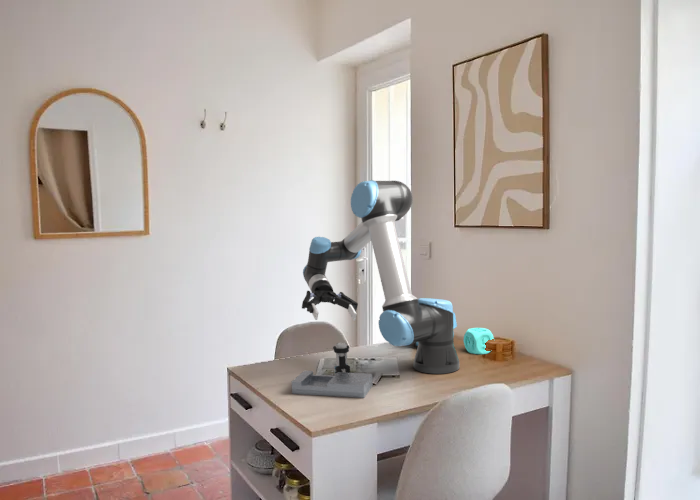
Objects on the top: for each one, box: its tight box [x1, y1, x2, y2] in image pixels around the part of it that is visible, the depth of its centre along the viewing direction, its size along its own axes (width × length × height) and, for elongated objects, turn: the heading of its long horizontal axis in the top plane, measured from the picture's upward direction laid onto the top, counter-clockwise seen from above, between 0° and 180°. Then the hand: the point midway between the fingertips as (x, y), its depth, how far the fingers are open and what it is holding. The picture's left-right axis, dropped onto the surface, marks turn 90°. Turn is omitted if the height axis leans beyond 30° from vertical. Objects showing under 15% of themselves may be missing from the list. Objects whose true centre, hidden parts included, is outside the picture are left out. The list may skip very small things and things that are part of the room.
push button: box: [330, 342, 351, 376], centre depth 182 cm, size 7×5×10 cm
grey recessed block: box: [291, 370, 374, 399], centre depth 168 cm, size 22×11×4 cm, turn 75°
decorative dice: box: [463, 327, 495, 355], centre depth 204 cm, size 8×8×8 cm
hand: (336, 316), depth 188 cm, fingers open, 13 cm apart
